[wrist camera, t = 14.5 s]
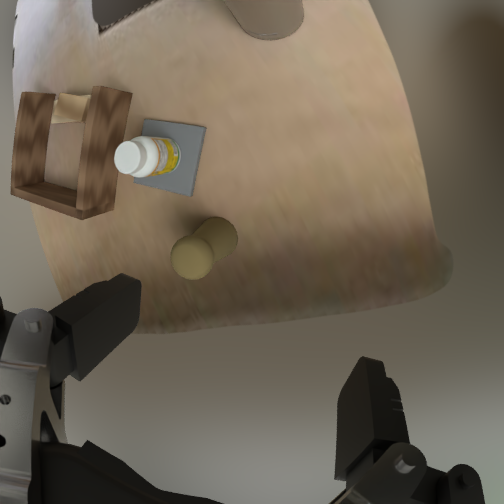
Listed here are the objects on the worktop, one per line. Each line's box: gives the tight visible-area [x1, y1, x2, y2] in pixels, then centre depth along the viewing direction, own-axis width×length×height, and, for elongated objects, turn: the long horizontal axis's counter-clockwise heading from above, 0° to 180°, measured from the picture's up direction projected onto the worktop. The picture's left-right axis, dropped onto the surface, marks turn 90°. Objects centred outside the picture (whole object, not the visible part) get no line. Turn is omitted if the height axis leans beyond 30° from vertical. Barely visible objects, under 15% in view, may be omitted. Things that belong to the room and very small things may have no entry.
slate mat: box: [134, 119, 206, 197], centre depth 41 cm, size 10×10×1 cm
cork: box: [171, 217, 238, 280], centre depth 38 cm, size 6×6×11 cm
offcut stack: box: [51, 93, 91, 124], centre depth 40 cm, size 6×12×4 cm, turn 77°
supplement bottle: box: [114, 136, 181, 178], centre depth 36 cm, size 5×5×10 cm
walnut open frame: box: [11, 86, 132, 220], centre depth 40 cm, size 20×22×8 cm
